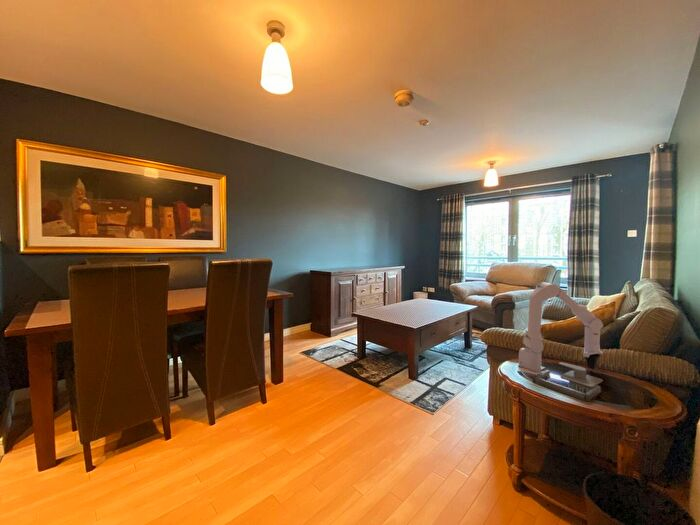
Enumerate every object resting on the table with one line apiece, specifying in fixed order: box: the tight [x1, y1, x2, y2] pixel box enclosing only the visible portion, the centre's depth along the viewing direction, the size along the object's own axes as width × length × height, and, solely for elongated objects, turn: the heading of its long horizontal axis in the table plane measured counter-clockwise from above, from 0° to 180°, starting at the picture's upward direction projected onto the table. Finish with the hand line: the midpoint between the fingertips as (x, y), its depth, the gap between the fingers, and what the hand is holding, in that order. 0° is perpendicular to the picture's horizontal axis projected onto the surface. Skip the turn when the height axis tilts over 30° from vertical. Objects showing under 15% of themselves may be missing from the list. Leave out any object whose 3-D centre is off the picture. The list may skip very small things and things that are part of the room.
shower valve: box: [558, 361, 604, 389], centre depth 135 cm, size 12×6×15 cm
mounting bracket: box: [532, 369, 602, 403], centre depth 127 cm, size 20×13×2 cm, turn 32°
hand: (591, 368), depth 142 cm, fingers closed
